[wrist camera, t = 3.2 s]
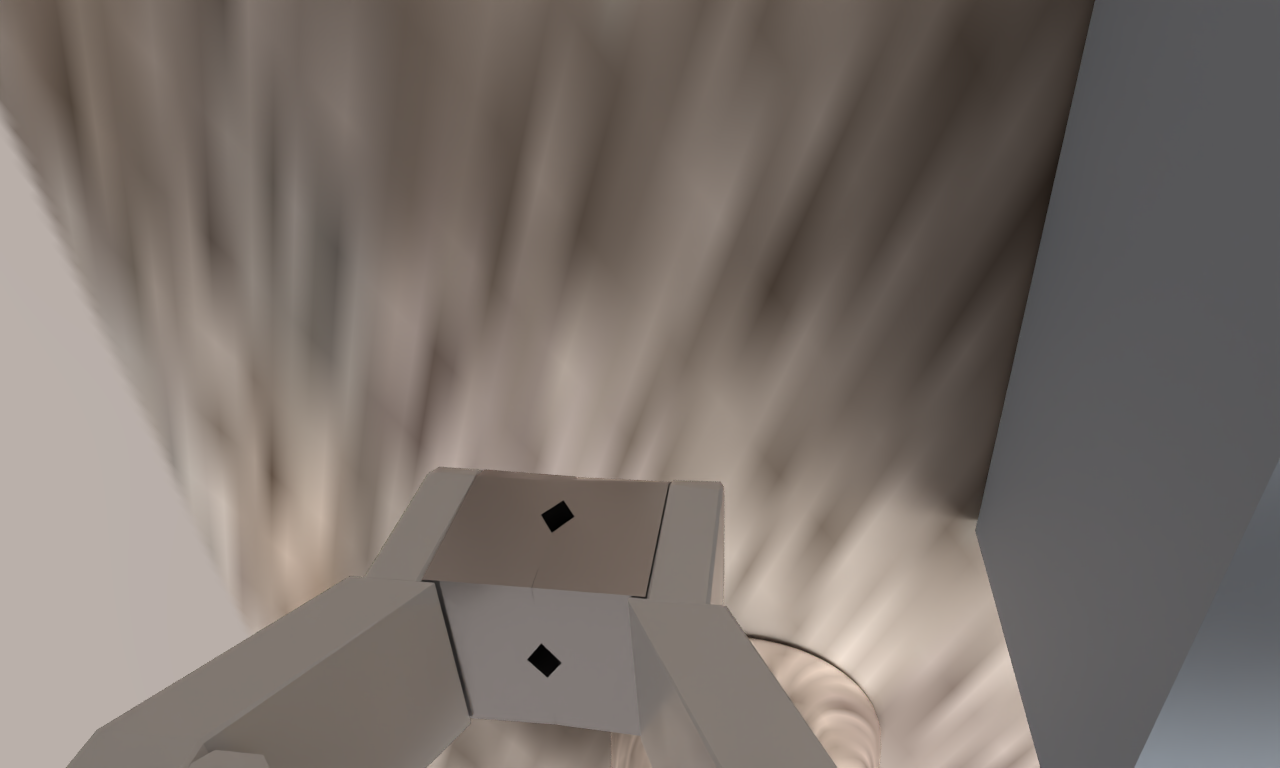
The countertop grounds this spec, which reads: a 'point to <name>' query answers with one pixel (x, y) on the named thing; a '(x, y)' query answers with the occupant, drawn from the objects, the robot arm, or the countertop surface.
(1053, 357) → the socket block
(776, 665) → the beer glass
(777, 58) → the countertop surface
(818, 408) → the countertop surface
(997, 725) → the countertop surface
